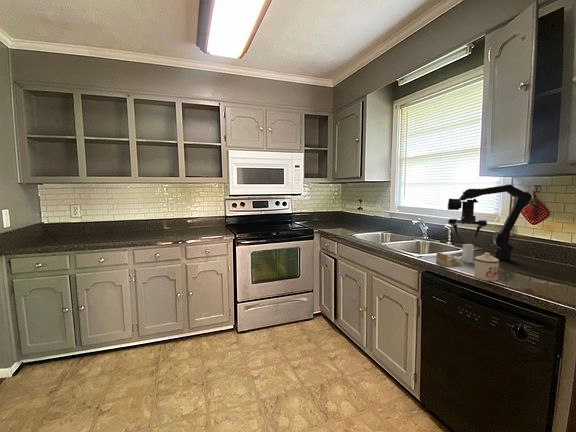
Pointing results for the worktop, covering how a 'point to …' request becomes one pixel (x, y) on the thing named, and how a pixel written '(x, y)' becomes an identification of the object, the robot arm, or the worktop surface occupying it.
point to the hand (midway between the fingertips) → (466, 236)
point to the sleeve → (447, 260)
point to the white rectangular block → (467, 253)
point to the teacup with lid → (486, 267)
